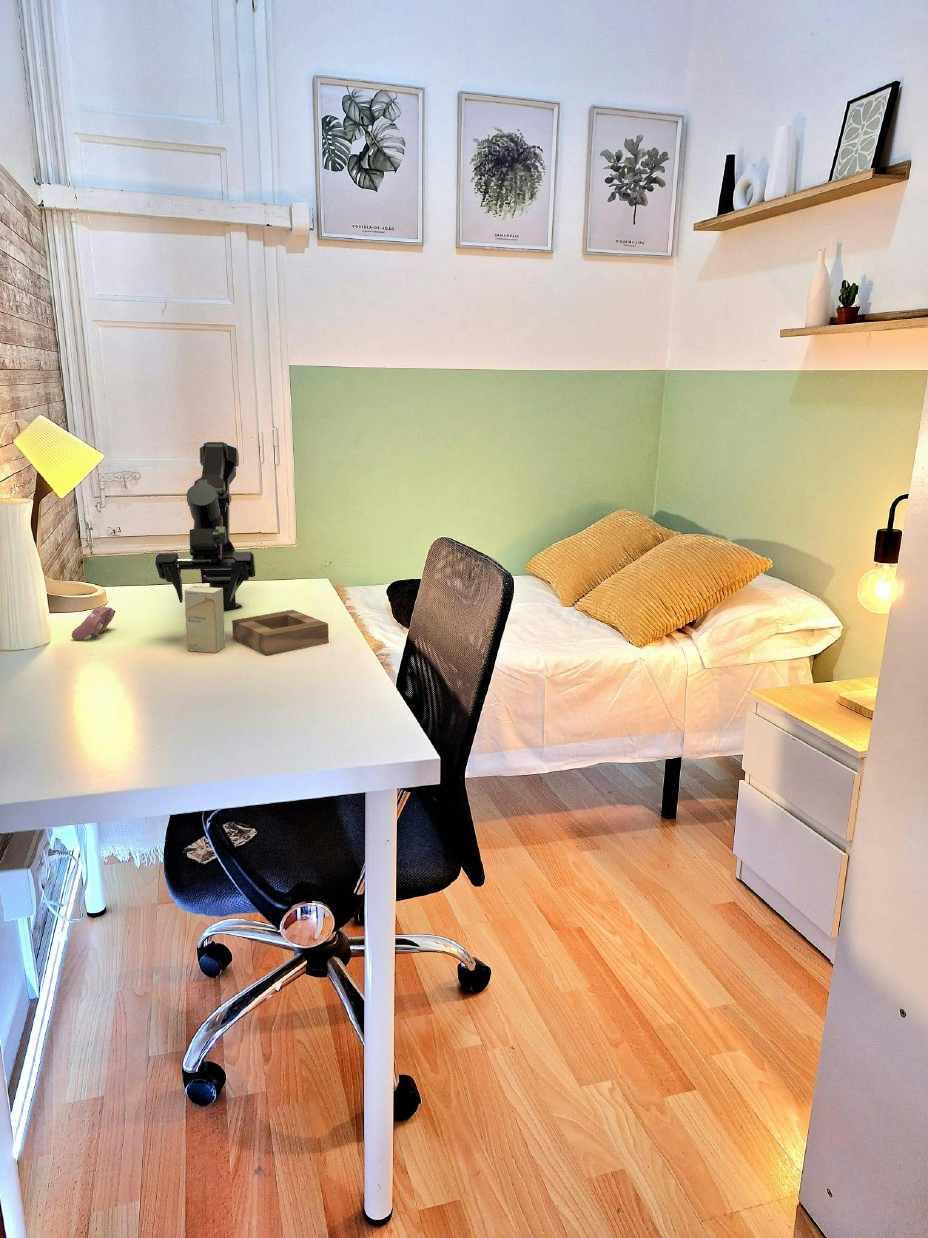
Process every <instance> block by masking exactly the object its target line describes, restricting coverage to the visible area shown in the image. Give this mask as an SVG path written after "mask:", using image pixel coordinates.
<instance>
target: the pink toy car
mask: <svg viewBox="0 0 928 1238" xmlns="http://www.w3.org/2000/svg"><path fill="white" fill-rule="evenodd" d="M115 614H116V610H115V609H113V608H112V607H110V606H108V607H106V605H104V606H98V607H96V608H94V609H93V610H92V611H91V613H90V614H89V615H88V616H87V617H85V619H84V620H83V622H82V623H81V624H80V625H79V626H77V627H76V628H74V629H73V631H72V632H71V638H72V639H73V640H74V641H83V640H84V639H86V638H88V637H89V636H90V637H93V638H96V637H98V635H99V633H101V634H102V633H104V632H105V631H106V630H107V627H108V625H109V624H110V623H111V622H112V620H113V619H114V617H115Z"/></svg>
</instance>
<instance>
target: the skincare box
mask: <svg viewBox="0 0 928 1238" xmlns="http://www.w3.org/2000/svg"><path fill="white" fill-rule="evenodd" d="M184 606H185V607H184V608H185V610H184V611H185V613H184V614H185V629H186V630H185V631H186V649H187V651H191V652H201V653H212V654H216V653H217V652H219V651H221V650H223V649H224V648H225V647H226V640H225V636H226V635H225V616H224V615H225V612H224V611H225V610H224V607H223V588H214V587H209V586H197V585H193V586H191V587H189V588H186V589H185V590H184Z"/></svg>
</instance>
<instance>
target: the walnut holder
mask: <svg viewBox="0 0 928 1238" xmlns="http://www.w3.org/2000/svg"><path fill="white" fill-rule="evenodd" d="M231 625H232V639H233V640H234V641H236V642H238V643H241V644H242V645H245V646H246V647H248V648H251V649H252V650H254V651H257V652H259V653H260V654H261V655H262V654H263V655H264V656H270V655H276V654H281V653H285V652H290V651H295V650H299V649H303V648H308V647H313V646H319V645H323V644H328V643H329V623H328V622H325V621H322V620H320V619H317V618H315V617H313V616H311V615H307V614H305V613H302V612H299V611H298V610H294V609H287V610H283V611H276V612H271V613H265V614H260V615H254V616H247V617H243V618H238V619H232V620H231Z"/></svg>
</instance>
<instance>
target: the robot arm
mask: <svg viewBox="0 0 928 1238" xmlns="http://www.w3.org/2000/svg"><path fill="white" fill-rule="evenodd" d="M199 464H200V465H201V467H202V473H201V476H200V478H197V479H196V480H195V481H194V482H193V485H192V486H191V487H190V488H188V490H187V491H186V502H187V506H188V507H189V510H190V511H189V512H190V516H191V519H192V520H193V528H191V529H190V530H189V555H190V556H191V558H181V559H180V558H179V556H178V552H159V553H158V554H157V555H156V556H155V567H156V570H157V573H158V576H159V578H160V579H162V580H165V581H166V582H167V583H172V585H173V587H174V588H175V589H174V590H175V591H176V594H177V597H178V600H179V603H180V604H182V603H183V601H184V595H183V580H182V577H181V575H182V570H183V571H184V570H186V571H187V570H200V577H201V578H200V579H201V583H202V584H203V585H204V584H208V585H209V586H208V587H214V588H223V607H224V611H228V610H233V609H240V608H242V607H243V604H240V603H237V601H236V600H237V599H236V593H237V591H238V589H239V588H240V586H241V585H242V583H244V582H245V581H248V580H249V579H250V578H254V577H255V576H256V561H255V555H254V553H253V552H252V551H236V550H235V546H234V545H233V543H232V541H231V540H230V505H231V504H230V503H231V502H232V495H231V494H230V485H231V484H232V482H233V481H234V479H235V478H236V477H237V467H239V466H240V458H239V451H238V448H237V447H235V446H232V445H228V443H227V442H224V441H207V442H203V445H202V446H201V447H199Z"/></svg>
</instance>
